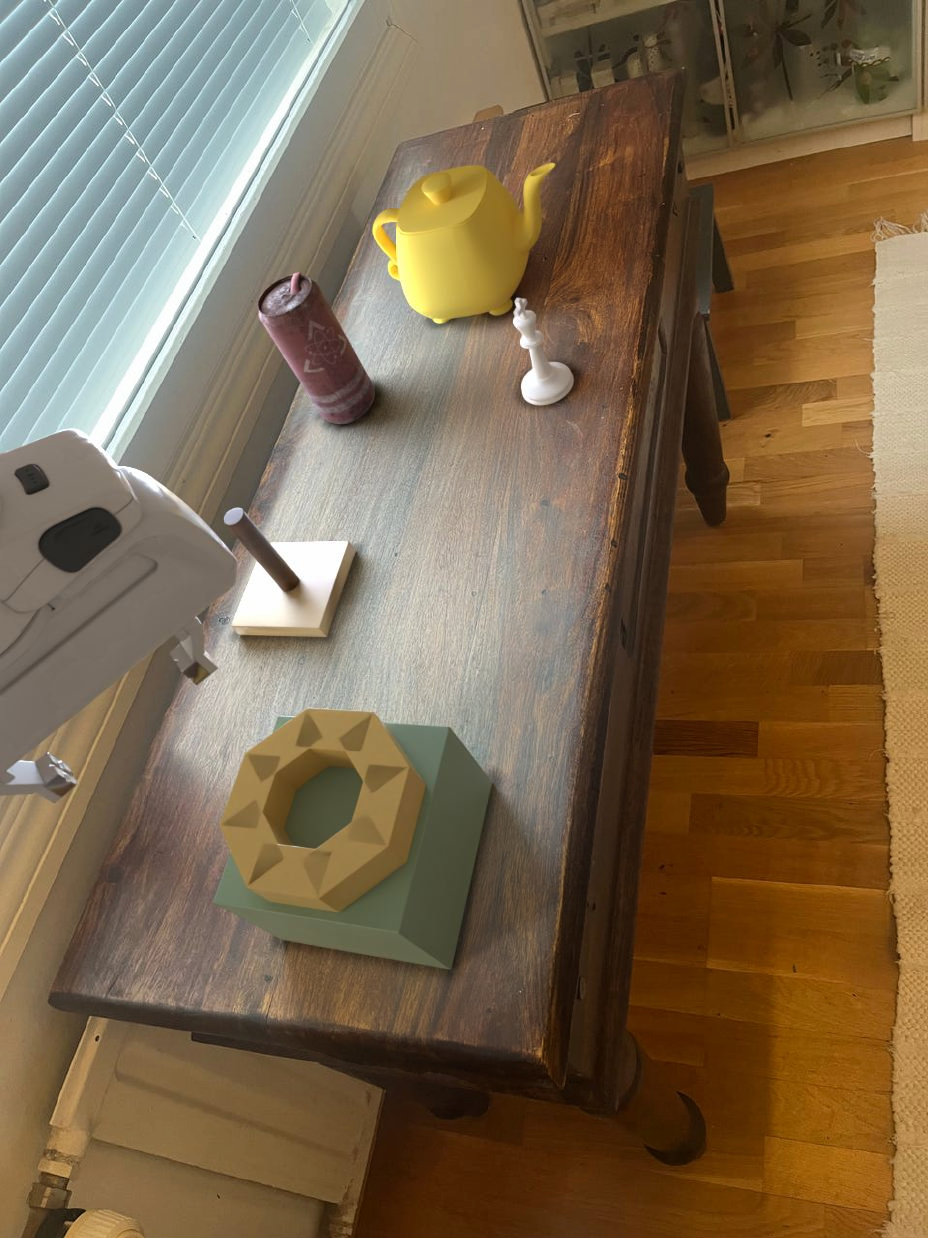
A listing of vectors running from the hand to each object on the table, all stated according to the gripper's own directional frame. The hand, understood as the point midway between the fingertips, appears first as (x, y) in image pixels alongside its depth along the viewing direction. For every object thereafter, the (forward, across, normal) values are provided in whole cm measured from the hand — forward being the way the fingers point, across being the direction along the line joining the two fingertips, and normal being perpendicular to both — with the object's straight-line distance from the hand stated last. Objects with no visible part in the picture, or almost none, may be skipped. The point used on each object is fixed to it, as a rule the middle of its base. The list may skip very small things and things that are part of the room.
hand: (134, 727), depth 50 cm
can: (+22, +28, +39) cm, 53 cm away
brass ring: (+13, +4, -4) cm, 14 cm away
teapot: (+22, +47, +39) cm, 65 cm away
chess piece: (+22, +42, +22) cm, 52 cm away
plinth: (+22, +4, -4) cm, 23 cm away
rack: (+22, +12, +22) cm, 33 cm away
